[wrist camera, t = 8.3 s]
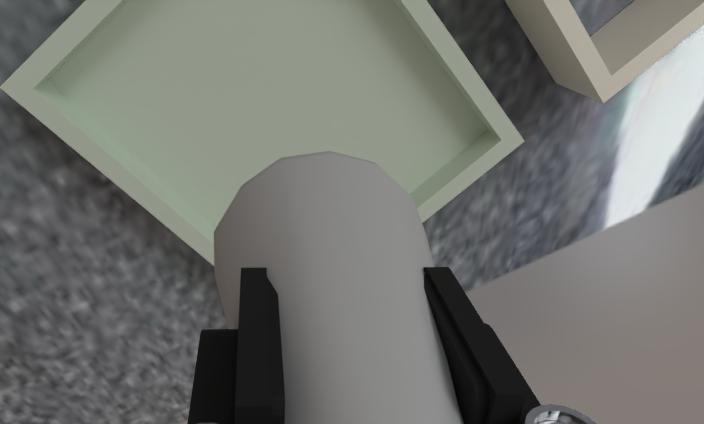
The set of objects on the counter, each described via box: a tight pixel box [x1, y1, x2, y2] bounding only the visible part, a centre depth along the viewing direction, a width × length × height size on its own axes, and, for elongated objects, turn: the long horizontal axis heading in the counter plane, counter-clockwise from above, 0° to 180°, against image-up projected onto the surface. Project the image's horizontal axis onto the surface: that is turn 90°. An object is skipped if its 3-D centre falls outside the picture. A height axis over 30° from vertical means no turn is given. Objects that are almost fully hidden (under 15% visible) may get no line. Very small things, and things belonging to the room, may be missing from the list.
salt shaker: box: [214, 151, 464, 424], centre depth 11 cm, size 6×6×13 cm
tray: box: [0, 0, 524, 266], centre depth 29 cm, size 18×20×3 cm
